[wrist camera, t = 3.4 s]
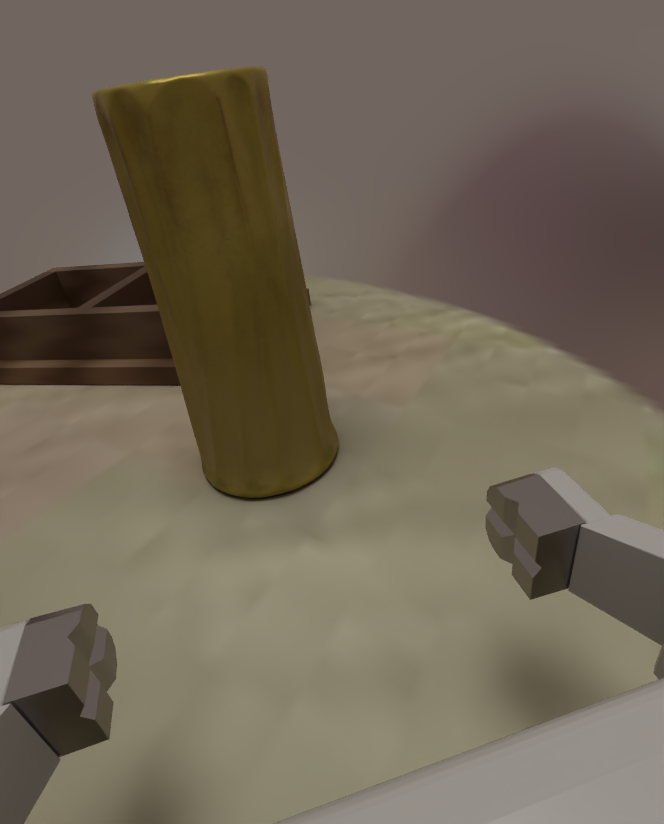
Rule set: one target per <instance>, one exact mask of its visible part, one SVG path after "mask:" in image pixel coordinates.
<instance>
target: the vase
mask: <svg viewBox="0 0 664 824" xmlns="http://www.w3.org/2000/svg"><path fill="white" fill-rule="evenodd" d="M92 98H93V102H94V106H95V111H96V114H97V118H98V121H99V124H100V127H101V130H102V133H103V136H104V138H105V142H106V145H107V148H108V150H109V154H110V157H111V160H112V163H113V166H114V169H115V173H116V176H117V179H118V182H119V185H120V188H121V191H122V194H123V197H124V200H125V203H126V206H127V209H128V212H129V216H130V219H131V222H132V226H133V229H134V231H135V235H136V238H137V241H138V243H139V247H140V250H141V253H142V256H143V260H144V263H145V266H146V269H147V273H148V276H149V279H150V282H151V286H152V289H153V292H154V296H155V299H156V302H157V306H158V309H159V312H160V316H161V319H162V323H163V326H164V330H165V333H166V337H167V340H168V344H169V347H170V351H171V354H172V357H173V361H174V364H175V368H176V371H177V375H178V378H179V382H180V385H181V389H182V393H183V396H184V400H185V403H186V407H187V410H188V414H189V418H190V421H191V425H192V428H193V432H194V435H195V438H196V441H197V445H198V448H199V452H200V456H201V461H202V468H203V473H204V475H205V476H206V478H207V479H208V480H209V482H210V483H211V484H212V485H213V486H214V487H216V488H217V489H219V490H221V491H223V492H225V493H228V494H231V495H235V496H239V497H247V498H260V497H268V496H274V495H278V494H282V493H286V492H289V491H293V490H295V489H298V488H300V487H302V486H304V485H306V484H308V483H309V482H311V481H313V480H314V479H316V478H317V477H318V476H320V475H321V474H322V473H323V472H324V471H325V470H326V469H327V468H328V467H329V465H330V464H331V462H332V461H333V459H334V457H335V455H336V452H337V449H338V437H337V433H336V430H335V428H334V426H333V424H332V422H331V419H330V415H329V410H328V404H327V397H326V390H325V383H324V376H323V371H322V365H321V360H320V355H319V351H318V346H317V342H316V337H315V332H314V327H313V321H312V316H311V310H310V305H309V300H308V294H307V289H306V284H305V279H304V274H303V269H302V264H301V259H300V254H299V249H298V244H297V238H296V234H295V229H294V223H293V218H292V212H291V207H290V202H289V197H288V192H287V187H286V182H285V177H284V172H283V167H282V162H281V157H280V151H279V146H278V140H277V135H276V130H275V124H274V119H273V113H272V107H271V101H270V94H269V87H268V76H267V72H266V69H265V68H264V67H263V66H258V67H257V66H255V67H241V68H233V69H223V70H215V71H207V72H200V73H192V74H185V75H178V76H172V77H165V78H159V79H152V80H146V81H140V82H134V83H129V84H123V85H118V86H113V87H108V88H103V89H99V90H96V91H94V92H93V93H92Z"/></svg>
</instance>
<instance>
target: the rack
mask: <svg viewBox="0 0 664 824" xmlns="http://www.w3.org/2000/svg"><path fill="white" fill-rule="evenodd" d="M307 294H308V300H309V305H310V304H311V302H310V295H309V289H308V288H307ZM0 384H95V385H180V382H179V378H178V375H177V371H176V368H175V364H174V361H173V357H172V354H171V351H170V347H169V344H168V340H167V337H166V333H165V330H164V326H163V323H162V319H161V316H160V312H159V309H158V306H157V302H156V299H155V296H154V292H153V289H152V286H151V282H150V279H149V276H148V273H147V269H146V266H145V263H144V262H137V263H122V264H108V265H107V264H106V265H93V266H77V267H61V268H52V269H50V270H48V271H46V272H45V273H42V274H40V275H38V276H36V277H34V278H32V279H30V280H28V281H26V282H24V283H22V284H20V285H18V286H16V287H14V288H11V289H9V290H7V291H6V292H3V293H1V294H0Z"/></svg>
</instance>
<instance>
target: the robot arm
mask: <svg viewBox="0 0 664 824" xmlns="http://www.w3.org/2000/svg"><path fill="white" fill-rule="evenodd" d="M487 502H488V503H489V504H490V506H491V507H492V508H491V509H490V511H489V512H488V513H487V515H486V531H487V535H488V538H489V541H490V543H491V545H492V547H493V549H494V550H495V552H496V553H497V555H498V556H499V558H500V559H503V560H505V561H507V562H509V563H511V564H513V565H512V576H513V577H514V578H515V580H516V581H517V583H518V584H519V585H520V587H521V588H522V589H523V591H524V592H525V593H526V595H527V596H528V598H529V599H530V600H531V599H535V598H538V597H541V596H545V595H548V594H551V593H555V592H558V591H561V590H565V589H568V588H569V589H568V591H570V592H571V593H573V594H575V595H577V596H578V597H580V598H582V599H583V600H585V601H587V602H588V603H590V604H592V605H594V606H595V607H597V608H599V609H600V610H602V611H604V612H606V613H607V614H609V615H611V616H612V617H614V618H616V619H617V620H619V621H621V622H623V623H624V624H626V625H628V626H629V627H631V628H633V629H634V630H636V631H638V632H640V633H641V634H643V635H645V636H646V637H648V638H650V639H651V640H653V641H655V642H657V643H658V644H660V645H662V648H661V650H660V653H659V656H658V658H657V661H656V664H655V668H654V674H655V675H656V677H657V678H658V679H659V680H656V681H654V682H651V683H648V684H646V685H643V686H640V687H637V688H635V689H632V690H629V691H627V692H624V693H621V694H619V695H616V696H613V697H611V698H608V699H605V700H603V701H600V702H597V703H595V704H592V705H589V706H587V707H584V708H581V709H579V710H576V711H573V712H570V713H568V714H565V715H562V716H560V717H557V718H554V719H552V720H549V721H546V722H544V723H541V724H538V725H536V726H533V727H530V728H528V729H525V730H522V731H520V732H517V733H514V734H512V735H509V736H506V737H503V738H501V739H498V740H495V741H493V742H490V743H487V744H485V745H482V746H479V747H477V748H474V749H471V750H469V751H466V752H463V753H461V754H458V755H455V756H453V757H450V758H447V759H444V760H442V761H439V762H436V763H434V764H431V765H428V766H426V767H423V768H420V769H418V770H415V771H412V772H410V773H407V774H404V775H402V776H399V777H396V778H394V779H391V780H388V781H386V782H383V783H380V784H377V785H375V786H372V787H369V788H367V789H364V790H361V791H359V792H356V793H353V794H351V795H348V796H345V797H343V798H340V799H337V800H335V801H332V802H329V803H327V804H324V805H321V806H319V807H316V808H313V809H311V810H308V811H305V812H302V813H300V814H297V815H294V816H292V817H289V818H286V819H284V820H281V821H278V822H276V823H273V824H664V530H661V529H659V528H656V527H653V526H650V525H647V524H645V523H642V522H639V521H636V520H633V519H631V518H628V517H625V516H622V515H619V514H615V515H612V516H611V515H610V514H609V513H608V512H607V511H606V510H604V509H603V508H602V507H601V506H600V505H599V504H598V503H597V502H596V501H595V500H594V499H593V498H591V497H590V496H589V495H588V494H587V493H586V492H585V491H584V490H583V489H582V488H581V487H580V486H578V485H577V484H576V483H575V482H574V481H573V480H572V479H571V478H570V477H569V476H568V475H567V474H566V473H564V472H563V471H562V470H561V469H559V468H557V467H552V468H549V469H546V470H542V471H539V472H536V473H533V474H529V475H525V476H522V477H519V478H515V479H512V480H509V481H505V482H502V483H499V484H495V485H492V486H490V487H489V489H488V491H487ZM97 621H98V613H97V612H96V610H95V609H94V607H93V606H92V604H83V605H79V606H76V607H72V608H68V609H64V610H61V611H57V612H53V613H49V614H45V615H42V616H38V617H34V618H31V619H28V620H25V621H21V622H17V623H13V624H10V625H6V626H2V627H1V628H0V824H24V822H25V820H26V819H27V817H28V815H29V814H30V812H31V810H32V808H33V807H34V805H35V803H36V802H37V800H38V798H39V796H40V795H41V793H42V791H43V789H44V788H45V786H46V784H47V783H48V781H49V779H50V777H51V776H52V774H53V772H54V770H55V769H56V767H57V765H58V764H59V762H60V758H59V757H61V756H64V755H67V754H70V753H72V752H75V751H78V750H81V749H84V748H86V747H89V746H92V745H95V744H97V743H100V742H103V741H106V740H108V739H109V738H110V729H111V720H112V711H113V701H112V699H111V698H110V696H109V695H108V693H107V691H108V690H109V688H110V687H111V685H112V684H113V682H114V681H115V679H116V671H117V658H116V648H115V645H114V642H113V639H112V636H111V635H110V633H109V631H108V630H107V629H106V628H103V627H100V626H98V625H97Z"/></svg>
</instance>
